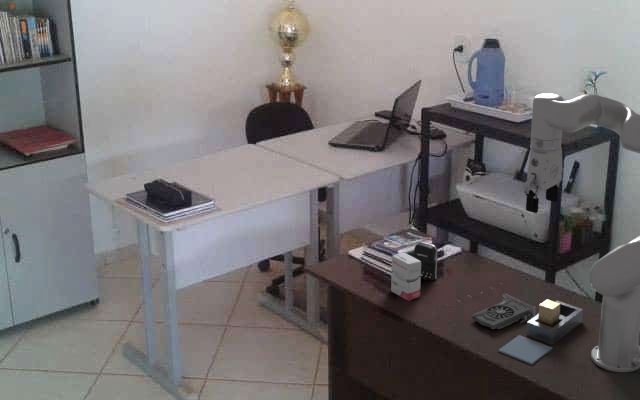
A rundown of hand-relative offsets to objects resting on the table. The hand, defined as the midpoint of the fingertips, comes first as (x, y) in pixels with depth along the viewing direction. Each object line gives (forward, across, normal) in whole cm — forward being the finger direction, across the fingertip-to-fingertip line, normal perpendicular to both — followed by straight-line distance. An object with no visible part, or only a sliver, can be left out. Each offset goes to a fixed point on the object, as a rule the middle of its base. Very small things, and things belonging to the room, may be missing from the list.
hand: (541, 206), depth 224 cm
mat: (+36, -11, -4) cm, 38 cm away
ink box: (+37, -6, +40) cm, 55 cm away
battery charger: (+37, +6, +42) cm, 56 cm away
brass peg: (+36, 0, -4) cm, 37 cm away
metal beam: (+37, +5, +25) cm, 45 cm away
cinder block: (+36, +4, -4) cm, 37 cm away
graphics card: (+37, 0, +11) cm, 39 cm away
